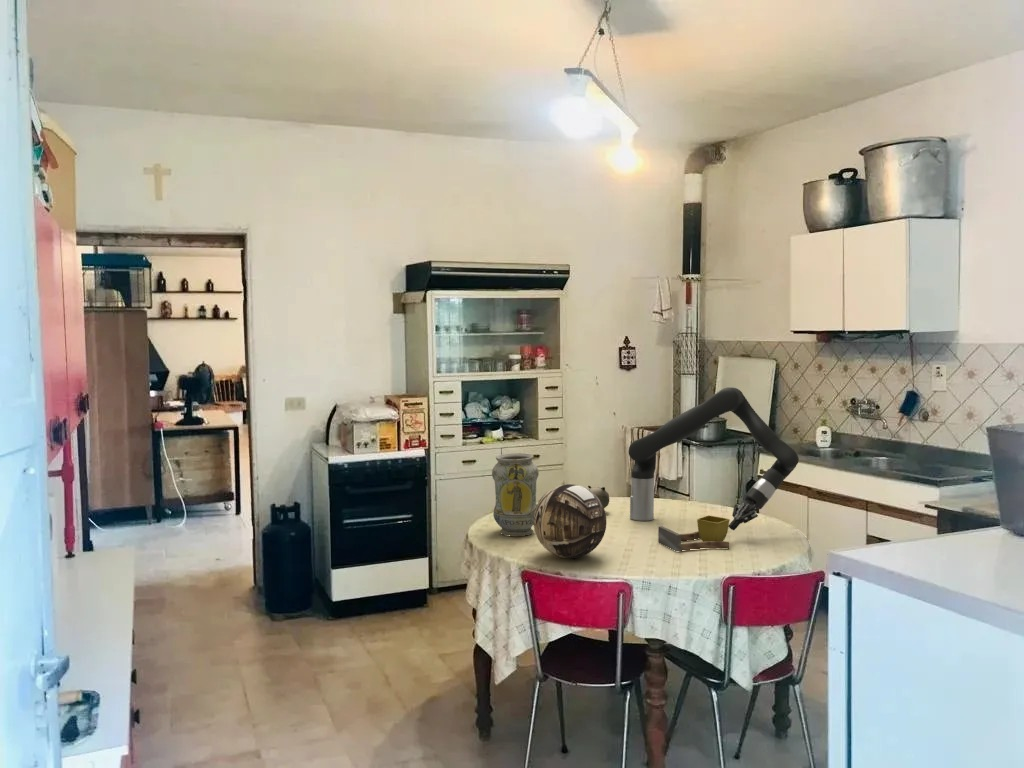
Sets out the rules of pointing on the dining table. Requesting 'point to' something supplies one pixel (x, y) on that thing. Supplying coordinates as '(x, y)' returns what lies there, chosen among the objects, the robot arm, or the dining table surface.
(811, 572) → the dining table surface
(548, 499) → the sphere
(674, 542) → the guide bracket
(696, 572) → the dining table surface
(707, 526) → the flower pot
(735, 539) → the dining table surface
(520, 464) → the vase
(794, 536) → the dining table surface
